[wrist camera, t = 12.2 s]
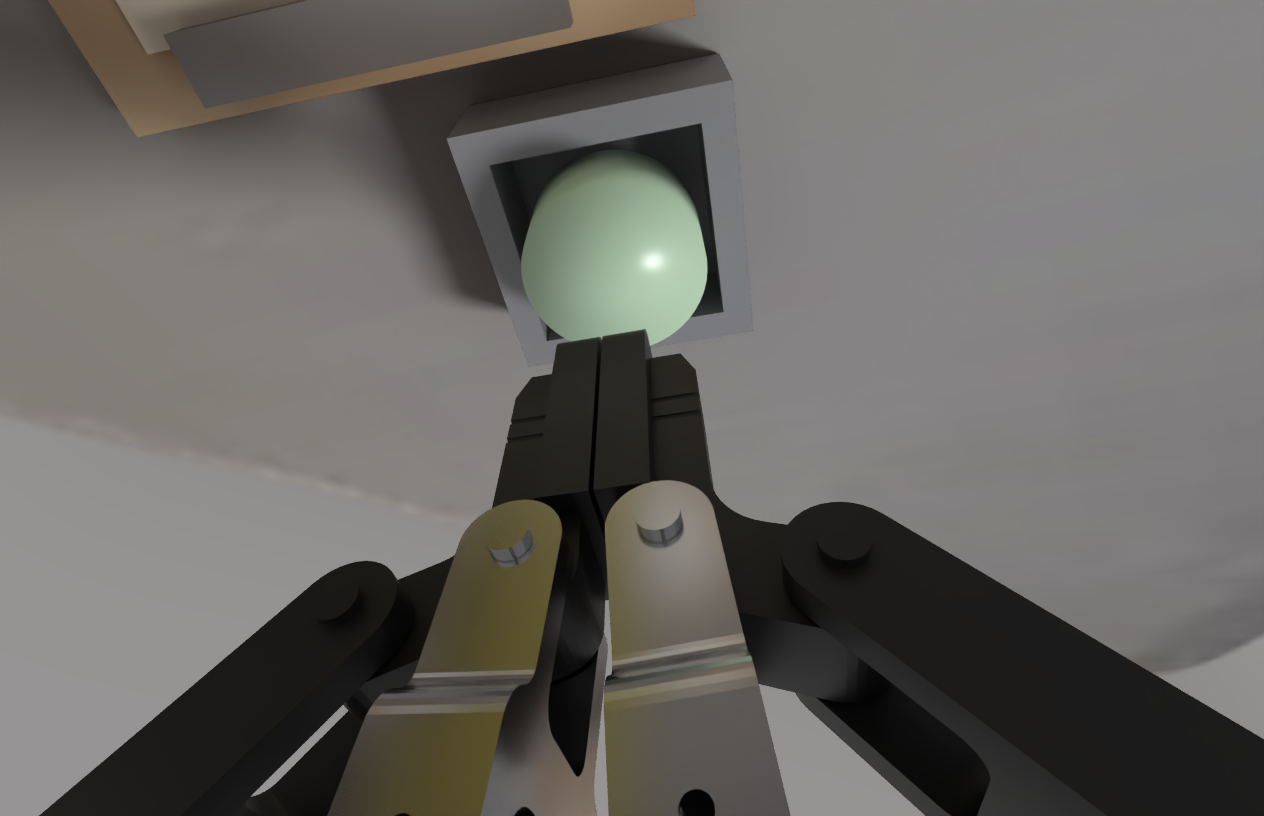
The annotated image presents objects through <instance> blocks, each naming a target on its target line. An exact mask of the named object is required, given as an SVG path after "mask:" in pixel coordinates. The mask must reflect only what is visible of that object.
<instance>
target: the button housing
mask: <svg viewBox="0 0 1264 816" xmlns="http://www.w3.org/2000/svg"><path fill="white" fill-rule="evenodd" d="M447 142H448V144H449V147H450V150H451V153H452V155H453V158H454V161H455V164H456V167H457V169H458V172H459V175H460V178H461V181H462V183H463V186H464V189H465V192H466V194H467V197H468V200H469V203H470V206H471V208H472V211H473V214H474V217H475V220H476V222H477V225H478V228H479V231H480V233H481V236H482V239H483V242H484V245H485V247H486V250H487V253H488V256H489V259H490V261H491V264H492V267H493V270H494V272H495V275H496V278H497V281H498V284H499V286H500V289H501V292H502V295H503V298H504V300H505V303H506V306H507V309H508V312H509V314H510V317H511V320H512V323H513V325H514V328H515V331H516V334H517V337H518V339H519V342H520V345H521V348H522V351H523V353H524V356H525V359H526V362H527V364H528V367H531V366H537V365H544V364H550V363H554V359H555V352H556V347H557V344H558V343H564V342H571V341H569V340H567V339H565V338H564V337H562V336H561V335H559V334H557V333H556V332H555V331H554V330H552V329H551V328H550V327H549V326H548V325H547V324H546V323H545V322H544V321H543V320H542V319H541V318H540V317H539V315H538V314H537V313H536V311H535V310H534V308H533V306H532V305H531V303H530V301H529V299H528V297H527V294H526V292H525V288H524V285H523V281H522V273H521V258H522V252H523V247H524V243H525V240H526V236H527V233H528V229H529V226H530V222H531V218H532V215H533V211H534V208H535V205H536V202H537V199H538V197H539V195H540V193H541V191H542V189H543V188H544V186H545V185H546V183H547V182H548V181H549V179H550V178H551V177H552V176H553V175H554V174H555V173H556V172H557V171H558V170H559V169H561V168H562V167H563V166H564V165H566V164H567V163H569V162H571V161H572V160H574V159H576V158H578V157H581V156H583V155H585V154H589V153H592V152H596V151H603V150H626V151H633V152H637V153H640V154H644V155H646V156H649V157H651V158H653V159H655V160H657V161H659V162H660V163H662V164H664V165H665V166H666V167H668V168H669V169H670V170H671V171H673V172H674V173H675V174H676V175H677V176H678V177H679V178H680V179H681V181H682V182H683V183H684V185H685V186H686V187H687V189H688V190H689V192H690V194H691V196H692V198H693V200H694V203H695V206H696V209H697V213H698V218H699V223H700V228H701V232H702V237H703V242H704V247H705V252H706V257H707V281H706V285H705V289H704V293H703V295H702V298H701V300H700V303H699V304H698V306H697V308H696V310H695V311H694V313H693V314H692V315H691V317H690V318H689V319H688V321H687V322H686V323H685V324H684V325H683V326H682V327H681V328H679V329H678V330H677V331H676V332H675V333H673V334H672V335H670V336H669V337H667V338H665V339H664V340H662V341H660V342H658V343H656V344H654V345H651V346H650V347H656V346H662V345H668V344H675V343H681V342H687V341H693V340H699V339H706V338H712V337H718V336H724V335H731V334H737V333H743V332H749V331H754V330H753V318H752V306H751V294H750V282H749V270H748V258H747V246H746V235H745V223H744V211H743V199H742V187H741V175H740V163H739V151H738V139H737V128H736V116H735V104H734V92H733V80H732V78H731V76H730V74H729V72H728V70H727V68H726V66H725V64H724V62H723V60H722V58H721V56H720V54H719V53H718V54H713V55H708V56H704V57H699V58H694V59H689V60H685V61H680V62H675V63H670V64H666V65H661V66H656V67H651V68H647V69H642V70H637V71H632V72H628V73H623V74H618V75H613V76H609V77H604V78H599V79H594V80H590V81H585V82H580V83H575V84H571V85H566V86H561V87H557V88H552V89H547V90H542V91H538V92H533V93H528V94H523V95H519V96H514V97H509V98H504V99H500V100H495V101H490V102H485V103H481V104H476V105H471V106H469V107H468V108H467V110H466V111H465V113H464V114H463V115H462V117H461V118H460V120H459V121H458V123H457V124H456V126H455V127H454V128H453V130H452V131H451V133H450V134H449V136H448V137H447Z"/></svg>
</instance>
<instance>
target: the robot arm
mask: <svg viewBox="0 0 1264 816" xmlns="http://www.w3.org/2000/svg"><path fill="white" fill-rule="evenodd" d="M511 422H512V425H510V428H509V432H508V437H507V439H508V443H506V446H505V451H504V455H503V460H502V465H501V469H500V474H499V479H498V483H497V488H496V492H495V497H494V502H493V506H492V509H490V510H488V511H486V512H485V513H483V514H482V515H481V516H479V517H478V518H477V519H476V520H475V521H474V522H473V523H472V524H471V525H470V526H469V527H468V528H467V530H466V531H465V533H464V534H463V536H462V538H461V540H460V542H459V545H458V548H457V551H456V554H455V555H454V556H453V557H451V558H449V559H447V560H445V561H443V562H441V563H438V564H436V565H434V566H431V567H429V568H426V569H424V570H421V571H419V572H416V573H414V574H411V575H409V576H406V577H404V578H401V579H399V580H397V578H396V577H395V576H394V574H393V573H392V571H391V570H390V569H389V568H388V567H386V566H385V565H383V564H381V563H377V562H372V561H361V562H354V563H350V564H347V565H344V566H341V567H339V568H337V569H335V570H333V571H331V572H329V573H327V574H326V575H324V576H323V577H321V578H320V579H319V580H317V581H316V582H315V583H313V584H312V585H311V586H310V587H309V588H308V589H306V590H305V591H304V592H303V593H302V594H300V595H299V596H298V597H297V598H296V599H294V600H293V601H292V602H291V603H290V604H289V605H287V606H286V607H285V608H284V609H283V610H281V611H280V612H279V613H278V614H277V615H276V616H274V617H273V618H272V619H271V620H270V621H268V622H267V623H266V624H265V625H264V626H263V627H261V628H260V629H259V630H258V631H257V632H256V633H254V634H253V635H252V636H251V637H250V638H249V639H247V640H246V641H245V642H244V643H243V644H242V645H240V646H239V647H238V648H237V649H236V650H234V651H233V652H232V653H231V654H230V655H228V656H227V657H226V658H225V659H224V660H223V661H221V662H220V663H219V664H218V665H217V666H215V667H214V668H213V669H212V670H211V671H210V672H208V673H207V674H206V675H205V676H204V677H202V678H201V679H200V680H199V681H198V682H196V683H195V684H194V685H193V686H192V687H191V688H189V689H188V690H187V691H186V692H185V693H183V694H182V695H181V696H180V697H179V698H178V699H176V700H175V701H174V702H173V703H172V704H171V705H169V706H168V707H167V708H166V709H165V710H163V711H162V712H161V713H160V714H159V715H157V716H156V717H155V718H154V719H153V720H152V721H150V722H149V723H148V724H147V725H146V726H144V727H143V728H142V729H141V730H140V731H139V732H137V733H136V734H135V735H134V736H133V737H132V738H130V739H129V740H128V741H127V742H126V743H124V744H123V745H122V746H121V747H120V748H119V749H117V750H116V751H115V752H114V753H113V754H111V755H110V756H109V757H108V758H107V759H106V760H104V761H103V762H102V763H101V764H100V765H99V766H97V767H96V768H95V769H94V770H93V771H91V772H90V773H89V774H88V775H87V776H85V777H84V778H83V779H82V780H81V781H80V782H78V783H77V784H76V785H75V786H74V787H72V788H71V789H70V790H69V791H68V792H67V793H65V794H64V795H63V796H62V797H61V798H60V799H58V800H57V801H56V802H55V803H54V804H52V805H51V806H50V807H49V808H48V809H47V810H45V811H44V812H43V813H42V814H41V815H39V816H597V811H596V805H595V796H594V778H595V767H596V758H597V748H598V738H599V729H600V720H601V711H602V701H603V692H604V719H605V742H606V765H607V787H608V809H609V816H790V812H789V807H788V803H787V799H786V795H785V791H784V788H783V783H782V779H781V775H780V770H779V766H778V762H777V758H776V754H775V750H774V746H773V742H772V738H771V733H770V730H769V725H768V721H767V717H766V713H765V708H764V704H763V700H762V696H761V693H760V688H759V684H762V685H766V686H770V687H774V688H778V689H783V690H787V691H791V692H795V693H796V695H797V696H798V698H799V699H800V701H801V702H802V703H803V704H804V705H805V706H806V707H807V708H808V709H809V710H810V711H811V712H812V713H813V714H814V715H815V716H816V717H818V718H819V719H820V720H821V721H822V722H823V723H824V724H825V725H826V726H827V727H828V728H830V729H831V730H832V731H833V732H834V733H835V734H836V735H837V736H839V737H840V738H841V739H842V740H843V741H844V742H845V743H846V744H847V745H848V746H849V747H851V748H852V749H853V750H854V751H855V752H856V753H857V754H858V755H859V756H860V757H862V758H863V759H864V760H865V761H866V762H867V763H868V764H869V765H870V766H871V767H873V768H874V769H875V770H876V771H877V772H878V773H879V774H881V776H882V777H884V778H885V779H886V780H887V781H888V782H889V783H890V784H891V785H893V787H895V788H896V789H897V790H898V791H899V792H900V793H901V794H902V795H903V796H904V797H906V798H907V799H908V800H909V801H910V802H911V803H912V804H913V805H914V806H915V807H917V808H918V809H919V810H920V811H921V812H922V813H923V814H924V815H925V816H1264V739H1262V738H1260V737H1259V736H1257V735H1256V734H1254V733H1252V732H1251V731H1249V730H1247V729H1245V728H1244V727H1242V726H1240V725H1239V724H1237V723H1235V722H1234V721H1232V720H1230V719H1229V718H1227V717H1225V716H1223V715H1222V714H1220V713H1218V712H1217V711H1215V710H1213V709H1212V708H1210V707H1208V706H1207V705H1205V704H1203V703H1202V702H1200V701H1198V700H1196V699H1195V698H1193V697H1191V696H1190V695H1188V694H1186V693H1185V692H1183V691H1181V690H1180V689H1178V688H1176V687H1174V686H1173V685H1171V684H1169V683H1168V682H1166V681H1164V680H1163V679H1161V678H1159V677H1158V676H1156V675H1154V674H1153V673H1151V672H1149V671H1148V670H1146V669H1144V668H1142V667H1141V666H1139V665H1137V664H1136V663H1134V662H1132V661H1131V660H1129V659H1127V658H1126V657H1124V656H1122V655H1121V654H1119V653H1117V652H1115V651H1114V650H1112V649H1110V648H1109V647H1107V646H1105V645H1104V644H1102V643H1100V642H1099V641H1097V640H1095V639H1093V638H1092V637H1090V636H1088V635H1087V634H1085V633H1083V632H1082V631H1080V630H1078V629H1077V628H1075V627H1073V626H1072V625H1070V624H1068V623H1066V622H1065V621H1063V620H1061V619H1060V618H1058V617H1056V616H1055V615H1053V614H1051V613H1050V612H1048V611H1046V610H1044V609H1043V608H1041V607H1039V606H1038V605H1036V604H1034V603H1033V602H1031V601H1029V600H1028V599H1026V598H1024V597H1023V596H1021V595H1019V594H1017V593H1016V592H1014V591H1012V590H1011V589H1009V588H1007V587H1006V586H1004V585H1002V584H1001V583H999V582H997V581H996V580H994V579H992V578H990V577H989V576H987V575H985V574H984V573H982V572H980V571H979V570H977V569H975V568H974V567H972V566H970V565H968V564H967V563H965V562H963V561H962V560H960V559H958V558H957V557H955V556H953V555H952V554H950V553H948V552H947V551H945V550H943V549H941V548H940V547H938V546H936V545H935V544H933V543H931V542H930V541H928V540H926V539H925V538H923V537H921V536H920V535H918V534H916V533H914V532H913V531H911V530H909V529H908V528H906V527H904V526H903V525H901V524H899V523H898V522H896V521H894V520H892V519H891V518H889V517H887V516H886V515H884V514H882V513H880V512H878V511H876V510H874V509H872V508H869V507H867V506H864V505H860V504H855V503H848V502H830V503H824V504H819V505H816V506H813V507H810V508H808V509H806V510H804V511H802V512H801V513H800V514H798V515H797V516H795V517H794V518H793V519H792V521H791V522H790V523H789V524H788V525H785V524H778V523H771V522H764V521H759V520H754V519H750V518H747V517H745V516H742V515H740V514H738V513H736V512H734V511H733V510H731V509H730V508H728V507H727V506H726V505H725V504H724V503H723V502H721V501H720V499H719V498H718V496H717V495H716V494H715V491H714V489H713V482H712V474H711V467H710V460H709V453H708V446H707V439H706V432H705V426H704V420H703V413H702V407H701V401H700V395H699V388H698V382H697V376H696V370H695V369H694V368H693V367H692V366H691V365H690V363H689V362H688V361H687V360H686V359H685V358H684V357H683V356H682V355H681V354H674V355H668V356H662V357H656V358H652V353H651V349H650V344H649V339H648V335H647V332H646V329H642V330H636V331H630V332H624V333H618V334H612V335H606V336H603V337H602V338H601V337H595V338H589V339H583V340H577V341H571V342H564V343H558V344H557V347H556V352H555V359H554V365H553V372H552V374H550V375H544V376H537V377H532V378H531V379H530V381H529V382H528V383H527V385H526V386H525V387H524V388H523V390H522V391H521V392H520V394H519V395H518V396H517V398H516V400H515V405H514V409H513V414H512V419H511ZM605 600H609V610H610V626H611V643H612V663H613V665H612V674H611V675H609V676H607V677H606V680H605V673H606V663H607V654H608V644H607V639H606V636H605V634H604V617H605ZM604 682H605V686H604ZM342 705H344V706H345V707H346V708H347V709H348V710H349V711H348V712H347V713H346V714H345V715H344V716H343V717H342V718H341V719H340V720H339V721H338V722H337V723H336V724H335V725H334V726H333V727H332V728H331V729H330V730H329V731H328V732H327V733H326V734H325V735H324V736H323V737H322V738H321V739H320V740H319V741H318V742H317V743H316V744H315V745H314V746H313V747H312V748H311V749H310V750H309V751H308V752H307V753H306V754H305V755H304V756H303V757H302V758H301V759H300V760H299V761H298V762H297V763H296V764H295V765H294V766H293V767H292V768H291V769H290V770H289V771H288V772H287V773H286V774H285V775H284V776H283V777H282V778H281V779H280V780H279V781H278V782H277V783H276V784H275V785H274V786H272V787H271V788H270V789H268V790H266V791H265V792H263V793H261V794H259V795H256V796H253V797H251V795H252V794H253V793H254V792H255V791H256V790H257V789H258V788H259V787H260V786H261V785H262V784H263V783H264V782H265V781H266V780H267V779H268V778H269V777H270V776H271V775H272V774H273V773H274V772H275V771H276V770H277V769H278V768H280V767H281V765H283V764H284V762H286V761H287V759H288V758H290V757H291V756H292V755H293V754H294V753H295V752H296V751H297V750H298V749H299V748H300V747H301V746H302V744H304V743H305V742H306V741H307V740H308V739H309V738H310V737H311V736H312V735H313V734H314V733H315V732H316V731H317V730H318V729H319V728H320V727H321V726H322V725H323V724H324V723H325V722H326V721H327V720H328V719H329V718H330V717H331V716H332V715H333V714H334V713H335V712H336V711H337V710H338V709H339V708H340V707H341V706H342Z"/></svg>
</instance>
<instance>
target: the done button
mask: <svg viewBox="0 0 1264 816" xmlns="http://www.w3.org/2000/svg"><path fill="white" fill-rule="evenodd" d="M521 273H522V281H523V285H524V288H525V292H526V294H527V297H528V299H529V301H530V303H531V305H532V306H533V308H534V310H535V311H536V313H537V314H538V315H539V317H540V318H541V319H542V320H543V321H544V322H545V323H546V324H547V325H548V326H549V327H550V328H551V329H552V330H554V331H555V332H556V333H557V334H559V335H561V336H562V337H564V338H565V339H567V340H569V341H577V340H583V339H589V338H595V337H601V338H602V337H603V336H606V335H612V334H618V333H624V332H630V331H636V330H642V329H646V332H647V335H648V339H649V344H650V346H651V345H654V344H656V343H658V342H660V341H662V340H664V339H665V338H667V337H669V336H670V335H672V334H673V333H675V332H676V331H677V330H678V329H679V328H681V327H682V326H683V325H684V324H685V323H686V322H687V321H688V319H689V318H690V317H691V315H692V314H693V313H694V311H695V310H696V308H697V306H698V304H699V303H700V300H701V298H702V295H703V293H704V289H705V285H706V281H707V257H706V252H705V247H704V242H703V237H702V232H701V228H700V223H699V218H698V213H697V209H696V206H695V203H694V200H693V198H692V196H691V194H690V192H689V190H688V189H687V187H686V186H685V185H684V183H683V182H682V181H681V179H680V178H679V177H678V176H677V175H676V174H675V173H674V172H673V171H671V170H670V169H669V168H668V167H666V166H665V165H664V164H662V163H660V162H659V161H657V160H655V159H653V158H651V157H649V156H646V155H644V154H640V153H637V152H633V151H626V150H603V151H596V152H592V153H589V154H585V155H583V156H581V157H578V158H576V159H574V160H572V161H571V162H569V163H567V164H566V165H564V166H563V167H562V168H561V169H559V170H558V171H557V172H556V173H555V174H554V175H553V176H552V177H551V178H550V179H549V181H548V182H547V183H546V185H545V186H544V188H543V189H542V191H541V193H540V195H539V197H538V199H537V202H536V205H535V208H534V211H533V215H532V218H531V222H530V226H529V229H528V233H527V236H526V240H525V243H524V247H523V252H522V258H521Z"/></svg>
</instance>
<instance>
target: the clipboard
mask: <svg viewBox="0 0 1264 816" xmlns="http://www.w3.org/2000/svg"><path fill="white" fill-rule="evenodd" d="M48 2H49V3H50V5H51V6H52V8H53V9H54V11H55V12H56V14H57V16H58V17H59V19H60V20H61V22H62V23H63V25H64V26H65V28H66V29H67V31H68V32H69V34H70V36H71V37H72V39H73V40H74V42H75V43H76V45H77V46H78V48H79V49H80V51H81V52H82V54H83V56H84V57H85V59H86V60H87V62H88V63H89V65H90V66H91V68H92V69H93V71H94V72H95V74H96V76H97V77H98V79H99V80H100V82H101V83H102V85H103V86H104V88H105V89H106V91H107V92H108V94H109V95H110V97H111V99H112V100H113V102H114V103H115V105H116V106H117V108H118V109H119V111H120V112H121V114H122V115H123V117H124V119H125V120H126V122H127V123H128V125H129V126H130V128H131V129H132V131H133V132H134V134H135V135H136V137H142V136H146V135H151V134H156V133H160V132H165V131H169V130H174V129H179V128H183V127H188V126H192V125H197V124H201V123H206V122H211V121H215V120H220V119H224V118H229V117H234V116H238V115H243V114H247V113H252V112H256V111H261V110H266V109H270V108H275V107H279V106H284V105H288V104H293V103H298V102H302V101H307V100H311V99H316V98H321V97H325V96H330V95H334V94H339V93H343V92H348V91H353V90H357V89H362V88H366V87H371V86H376V85H380V84H385V83H389V82H394V81H398V80H403V79H408V78H412V77H417V76H421V75H426V74H430V73H435V72H440V71H444V70H449V69H453V68H458V67H463V66H467V65H472V64H476V63H481V62H485V61H490V60H495V59H499V58H504V57H508V56H513V55H518V54H522V53H527V52H531V51H536V50H540V49H545V48H550V47H554V46H559V45H563V44H568V43H572V42H577V41H582V40H586V39H591V38H595V37H600V36H605V35H609V34H614V33H618V32H623V31H627V30H632V29H637V28H641V27H646V26H650V25H655V24H660V23H664V22H669V21H673V20H678V19H682V18H687V17H692V16H695V10H694V1H693V0H48Z"/></svg>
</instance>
